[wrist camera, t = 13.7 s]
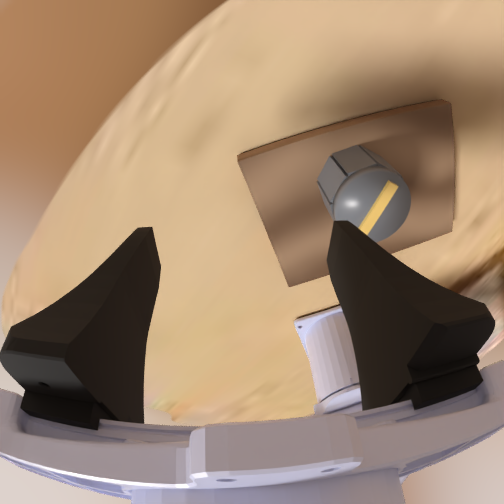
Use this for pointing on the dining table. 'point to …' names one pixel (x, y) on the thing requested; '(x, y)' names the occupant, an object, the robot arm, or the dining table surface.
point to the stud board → (322, 146)
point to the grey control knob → (364, 192)
